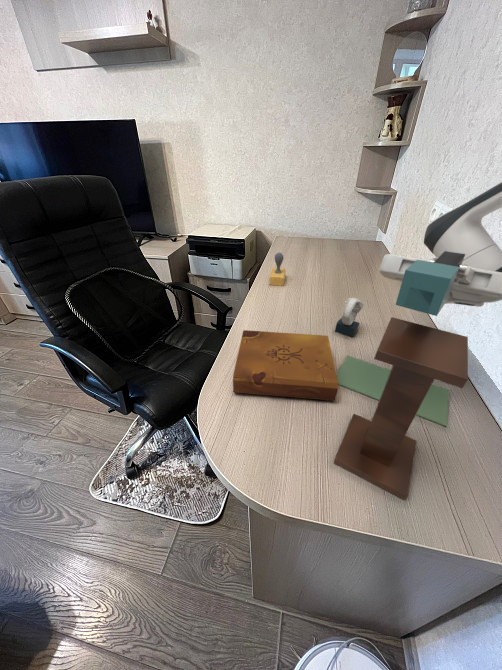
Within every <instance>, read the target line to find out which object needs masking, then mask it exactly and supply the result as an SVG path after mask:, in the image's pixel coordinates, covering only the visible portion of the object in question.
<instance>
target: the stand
mask: <svg viewBox="0 0 502 670" xmlns="http://www.w3.org/2000/svg"><path fill="white" fill-rule="evenodd" d="M374 360H376V361H379V362H382V363H384V364H388V365H391V369H390V370H391V371H390V374H389V376H388V379H387V381H386V384H385V387H384V389H383V392H382V394H381V397H380V400H379V401H378V403H377V405H376V408H375V410H374V413H373V415H372V418H371V420H370V419H367V418H365V417H362V416H360V415H358V414H355V413H353V414H352V416H351V419H350V421H349V423H348V426H347V429H346V431H345V433H344V436H343V437H342V440H341V443H340V445H339V448H338V450H337V453H336V455H335V457H334V460H333V464H335V465H337V466H338V467H340V468H342V469H343V470H346V471H348V472H350V473H352V474H353V475H355V476H358V477H359V478H361V479H363V480H365V481H367V482H368V483H371V484H372V485H375V486H377V487H378V488H380V489H382V490H384V491H386V492H387V493H389V494H392V495H394V496H395V497H398V498H399V499H401V500H403V501H405V500H406V499H407V497H408V495H409V489H410V484H411V479H412V471H413V464H414V459H415V453H416V447H417V442H418V441H417V440H416V439H414V438H412V437H410V436H408V435H406V434H407V432H408V430H409V429H410V427H411V425H412V423H413V420H415V418H416V413H417V411H418V410H419V408H420V406H421V404H422V402H423V400H424V398H425V396H426V394H427V392H428V390H429V388H430V386H431V384H433V383H434V380H436V381H438V382H442V383H445V384H448V385H451V386H453V387H457V388H459V389H463V388H464V387H465V386H466V384H467V382H468V381H469V337H468V336H465V335H461V334H458V333H454V332H450V331H446V330H443V329H439V328H435V327H432V326H427V325H424V324H419V323H416V322H411V321H408V320H405V319H400V318H397V317H393V316H391V317H390V319H389V322H388V324H387V327H386V329H385V331H384V332H383V336H382V338H381V340H380V343H379V345H378V347H377V349H376V352H375V355H374Z"/></svg>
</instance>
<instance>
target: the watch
mask: <svg viewBox="0 0 502 670" xmlns="http://www.w3.org/2000/svg"><path fill="white" fill-rule="evenodd" d="M344 303H345V306H344V309H343V312H342V315H341V318H340V319H339V320H338V321H337V322H336V324H335V329H334V332H335V333H337V334H340V335H344V336H346V337H349V338H351V339H353V338H354V336H355V335H356V334H357V332H358V330H359V327H360V322H358V321H355V320H356V318H357V315H358V314H359V313H360V312H361V310H363V308H364V302H363V301H362V300H360V299H359V298H357V297H349V298H347V299H346V300H345V301H344Z"/></svg>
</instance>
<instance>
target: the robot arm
mask: <svg viewBox="0 0 502 670" xmlns="http://www.w3.org/2000/svg"><path fill="white" fill-rule="evenodd" d="M501 208H502V181H501V182H499V183H498V184H496V185H495V186H492V187H491V188H489V189H487V190H486V191H484V192H482V193H480V194H479V195H477V196H476V197H474V198H472V199H471V200H469V201H467V202H465V203H463V204H462V205H460V206H458V207H456V208H454V209H451V210H448V211H447V212H445V213H443V214H440V215H439V216H438V217H436V218H435V219H434V220H432V222H430V223H429V224H428V225H427V226H426V228H425V229H426V230H425V232H424V236H423V245H424V246H425V247H426V248H427V249H428V250H429V252H431V254H433V255H434V257H433V258H426V259H423V258H417V257H411V256H406V255H399V254H393V253H387V254H386V253H385V255H384V256H383V258H382V261H381V263H380V267H379V274H380V275H382V276H383V277H384V278H386V279H389V280H393V281H397V282H402V280H403V277H404V273H405V270H406V269H407V268H408V267H409V266H411V265H412V264H413V263H414V262H415V261H416V260H422V261H428V262H434V261H435V260H436V259H437V258H438V257H439V256H440V255H441V254H442V253H443V252H444V251H448V252H454V253H461V254H465V257H464V259H463V262H462V264H460V265H459V267H460V268H459V270H458V273H457V275H456V278H455V281H454V283H453V286H452V288H451V291H450V293H449V296H448V298H447V301H446V303H445V304H444V305H449V304H451V305H452V304H454V305H461V306H468V307H478V308H479V307H483V306H484V304H488V303H496V302H500V301H502V249H501V247H500V246H499V245H498V244H497V243H496V242H495V240H494V239H493V237H491V235H490V234H489V232H488V231H487V230H486V228H485V227H484V226H483V224H482V220H483V218H484V217H486V216H488V215H489V214H491V213H493V212H496V211H497V210H499V209H501Z"/></svg>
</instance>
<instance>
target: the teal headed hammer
mask: <svg viewBox="0 0 502 670" xmlns="http://www.w3.org/2000/svg"><path fill="white" fill-rule="evenodd" d="M464 257H465V254H461V253H454V252H448V251H444V252H443V253H442V254H441V255H440V256H439V257H438V258H437V259H436V260H435V261H434V262H428V261H422V260H416V261H415V262H414V263H413V264H412V265H411V266H409V267H408V268H407V269H406V270H405V273H404V277H403V280H402V281H401V284H400V288H399V291H398V295H397V298H396V302H395V306H399V307H402V308H406V309H409V310H413V311H417V312H420V313H424V314H427V315H431V316H435V317H437V316H438V315H439V313H440V312H441V311H442V309H443V307H444V306H445V305H446V304H445V303H446V301H447V298H448V296H449V293H450V291H451V288H452V286H453V283H454V281H455V278H456V275H457V273H458V270H459V268H460V267H459V265H460V264H462V262H463V259H464Z"/></svg>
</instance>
